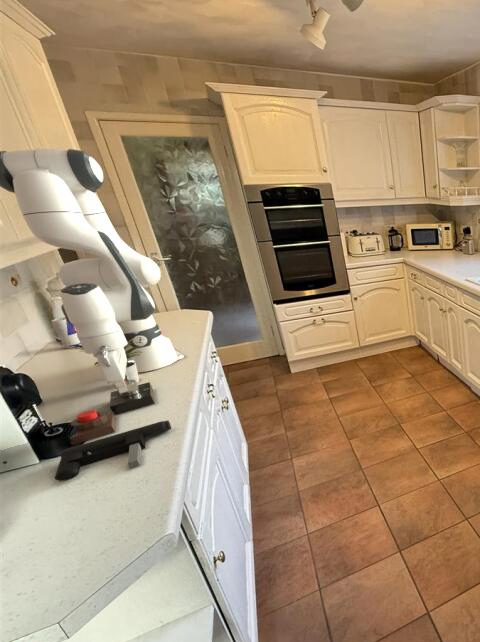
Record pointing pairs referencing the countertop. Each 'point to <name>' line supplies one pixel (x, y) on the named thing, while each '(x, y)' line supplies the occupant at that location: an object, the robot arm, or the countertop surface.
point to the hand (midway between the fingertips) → (124, 386)
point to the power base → (94, 427)
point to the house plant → (130, 363)
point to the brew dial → (130, 388)
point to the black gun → (108, 449)
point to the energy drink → (66, 332)
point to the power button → (87, 416)
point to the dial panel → (132, 400)
